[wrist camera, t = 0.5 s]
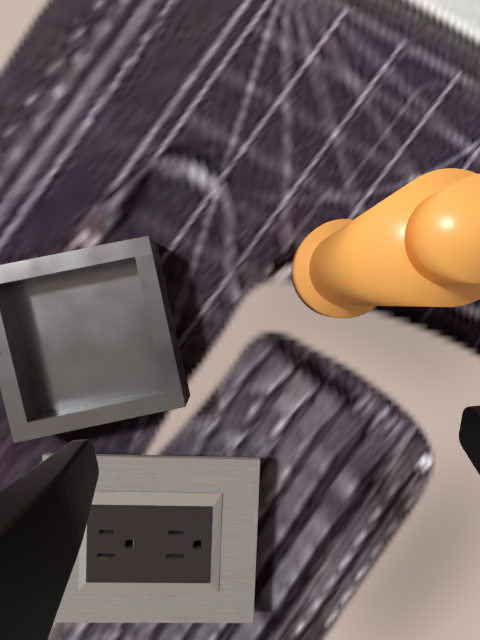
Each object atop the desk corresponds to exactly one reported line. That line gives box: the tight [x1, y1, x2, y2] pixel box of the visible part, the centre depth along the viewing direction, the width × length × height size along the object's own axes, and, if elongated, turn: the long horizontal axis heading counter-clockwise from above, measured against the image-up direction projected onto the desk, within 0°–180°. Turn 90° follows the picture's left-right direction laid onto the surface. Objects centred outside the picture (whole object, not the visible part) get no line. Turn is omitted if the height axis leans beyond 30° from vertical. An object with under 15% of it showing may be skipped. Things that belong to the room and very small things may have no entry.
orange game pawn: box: [291, 168, 480, 318], centre depth 16 cm, size 6×6×13 cm
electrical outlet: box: [42, 453, 260, 623], centre depth 22 cm, size 13×10×2 cm
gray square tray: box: [0, 236, 190, 443], centre depth 21 cm, size 10×10×2 cm
